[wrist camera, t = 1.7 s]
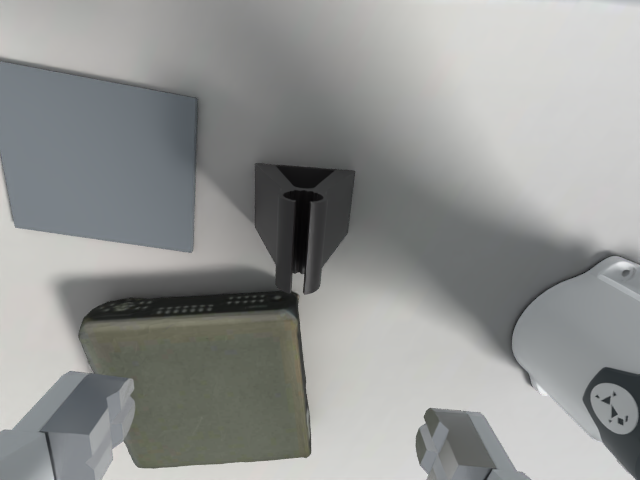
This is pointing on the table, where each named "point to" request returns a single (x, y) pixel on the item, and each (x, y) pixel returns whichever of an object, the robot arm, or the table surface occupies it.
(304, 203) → the black slotted holder
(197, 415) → the network switch
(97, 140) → the rubber mat
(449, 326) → the table surface
